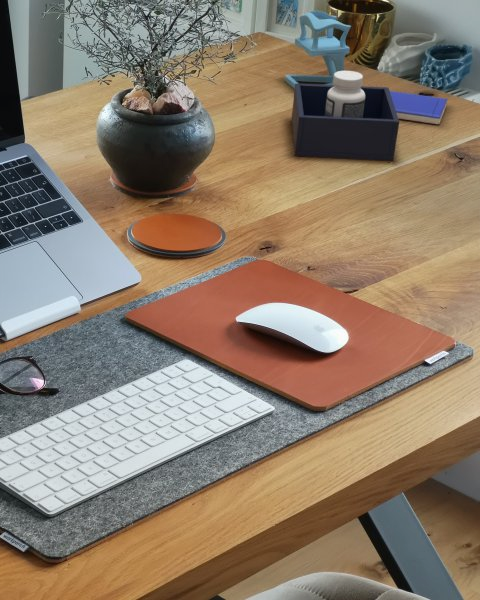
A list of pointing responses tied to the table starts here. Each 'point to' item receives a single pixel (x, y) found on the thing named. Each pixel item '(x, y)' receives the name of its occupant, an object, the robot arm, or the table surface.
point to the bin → (344, 126)
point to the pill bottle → (346, 96)
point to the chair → (321, 46)
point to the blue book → (418, 107)
